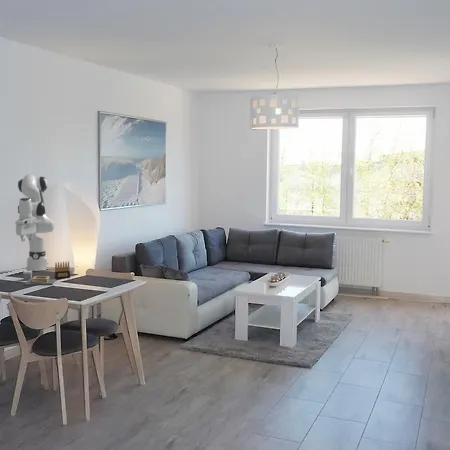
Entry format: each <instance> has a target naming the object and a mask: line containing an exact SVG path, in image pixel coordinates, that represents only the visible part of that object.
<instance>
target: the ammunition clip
mask: <svg viewBox="0 0 450 450" xmlns="http://www.w3.org/2000/svg"><path fill="white" fill-rule="evenodd" d="M54 264H55V265H54V279H56V280H58V279H59V280H60V279H70V278H71V268H70V267H71V266H70V261H69V260H68V261H65V262H64V261H63V262H62V261H61V262H59V261H58V263H57V262H55V263H54Z"/></svg>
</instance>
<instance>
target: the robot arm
mask: <svg viewBox="0 0 450 450" xmlns="http://www.w3.org/2000/svg"><path fill="white" fill-rule="evenodd" d="M48 185H49V183H48V180H47V178H46V177H45V176H35V175H33V174H26V175H24V176H23V178H22V179H20V180H19V181H17V189H18V190H19V192H20V193H22V194H23V195H24V196H25V197H22V198H20V199H19V200H18V201H19V202H18V206H17V213H18V214H19V215H18V216H19V217H18V219H17V220H16V221H15V223H14V224H15V233H16V236H19V238H20V241H21V242H23V243H24V242H26V241H25V240H26V239H25V238H24V236H26V238H27V240H28V245H29V251H28V252H29V253H28V255H29V256H28V257H27V259H26V267H24V270H25V271H32V272H34V271H36V272H38V271H40V272H42V271H47V269H48V270H50V269H51V265H50V264H49V262H48V258H47V257H46V255H47V254H46V253H47V252H46V250H45V249H46V248H45V246H46V243H45V240H44V239H43V238H41V237H39V236H38V235H37V234H47V233H51V232H54V229H55V226H56V224H55V222H54V219H51V218H50V217H48V216H47V215H46V214H47V213H46V212H47V208H46V204H45V200H44V197H43V196H44V195H43V193H45V191H47V189H48ZM47 267H49V268H50V269H49V268H47Z"/></svg>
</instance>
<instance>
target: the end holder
mask: <svg viewBox="0 0 450 450" xmlns="http://www.w3.org/2000/svg"><path fill="white" fill-rule="evenodd" d="M50 277H51V276H50V275H41V276H40V275H35V276H32V279H29V280H26V282H25V283H24V286H52V285H53V284H54V283H56V281H57V279H55V278H50Z"/></svg>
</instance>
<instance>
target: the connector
mask: <svg viewBox="0 0 450 450" xmlns="http://www.w3.org/2000/svg"><path fill="white" fill-rule="evenodd" d="M22 272H23V273H22V275H23V276H22V277H23V281H28V280H29V279H32V278H33V271H31V270H23V271H22Z"/></svg>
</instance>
